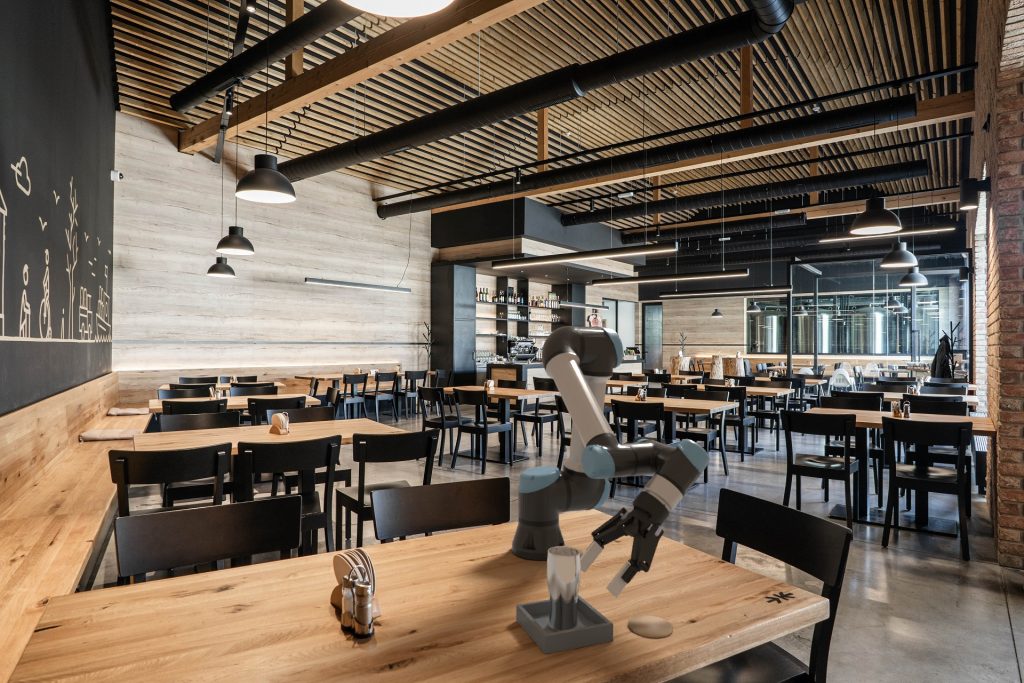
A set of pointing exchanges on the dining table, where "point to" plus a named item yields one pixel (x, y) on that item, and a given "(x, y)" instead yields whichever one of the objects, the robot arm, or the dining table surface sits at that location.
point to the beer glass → (563, 587)
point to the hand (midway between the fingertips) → (594, 580)
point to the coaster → (650, 626)
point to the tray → (588, 632)
